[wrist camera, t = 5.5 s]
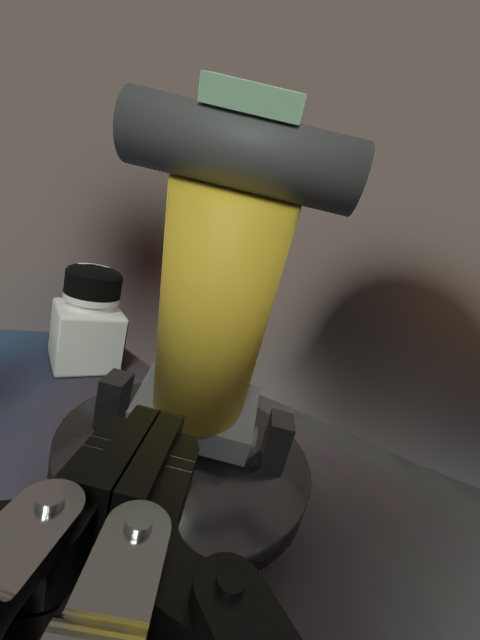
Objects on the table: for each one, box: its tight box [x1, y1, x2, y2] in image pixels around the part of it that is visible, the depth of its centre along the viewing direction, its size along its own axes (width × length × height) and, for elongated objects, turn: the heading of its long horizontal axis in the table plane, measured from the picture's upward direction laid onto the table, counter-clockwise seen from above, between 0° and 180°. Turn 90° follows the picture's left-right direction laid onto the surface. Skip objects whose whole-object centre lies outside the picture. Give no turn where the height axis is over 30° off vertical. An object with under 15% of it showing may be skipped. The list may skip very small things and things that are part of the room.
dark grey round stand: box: [47, 368, 311, 570], centre depth 26 cm, size 18×18×8 cm
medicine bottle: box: [48, 263, 129, 378], centre depth 41 cm, size 7×7×12 cm
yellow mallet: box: [113, 70, 375, 467], centre depth 20 cm, size 10×6×22 cm, turn 85°
